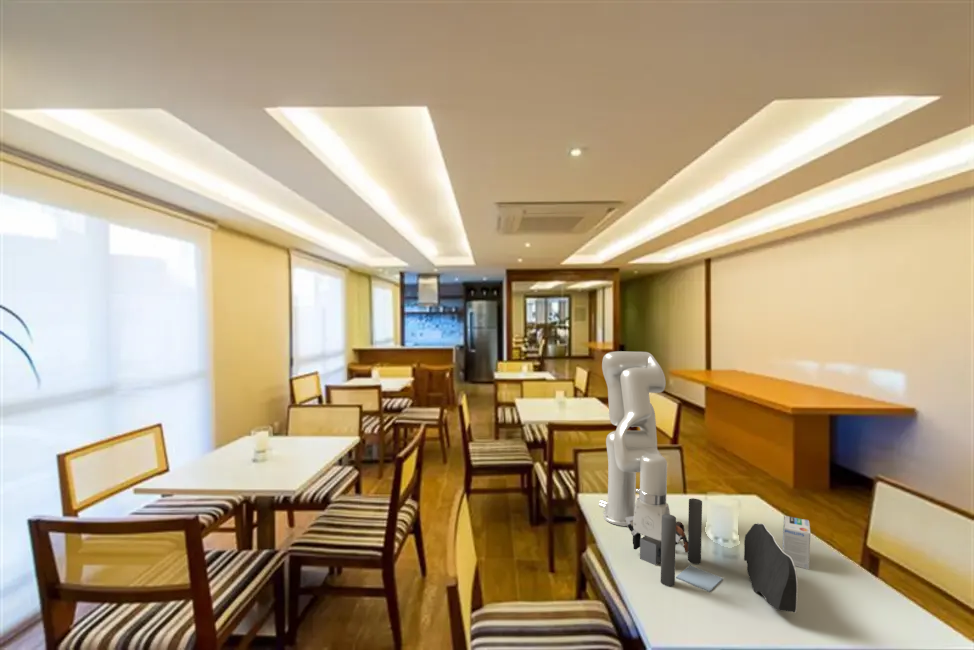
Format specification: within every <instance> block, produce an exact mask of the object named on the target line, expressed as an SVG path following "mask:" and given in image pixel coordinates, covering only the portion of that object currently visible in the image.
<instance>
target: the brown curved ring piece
mask: <svg viewBox="0 0 974 650" xmlns="http://www.w3.org/2000/svg"><path fill="white" fill-rule="evenodd" d="M676 531H677V532H678V533H679V534H680V535H681V536H682V538H681V540H680V541H682V542H683V545H682V548H683V549H684V552H685V553H688V537H687V536H686V535H687V534H686V533H685V525H684V524H683V523H682V522H681V521H676Z"/></svg>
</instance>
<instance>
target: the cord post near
mask: <svg viewBox="0 0 974 650" xmlns="http://www.w3.org/2000/svg"><path fill="white" fill-rule="evenodd" d="M676 522H677V517H676V516H675V515H672V514H670V515H669V514H663V515H662V533H661V562H660V583H661V584H662V585H663V586H665V587H674V586H675V584H676V545H677V544H676Z"/></svg>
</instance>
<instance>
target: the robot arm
mask: <svg viewBox="0 0 974 650" xmlns="http://www.w3.org/2000/svg"><path fill="white" fill-rule="evenodd" d="M601 361H602V363H601V370H602V374H603V377H604V380H605V383H606V387H607V399H608V400H607V401H608V416H609V421H610V423H611V424H612V425H613V426H616V429H615V430H613V431H611V432H609V433H608V434H607V435H606V439H605V445H606V453H607V461H608V463H607V464H608V465H607V466H608V470H607V471H608V472H607V473H608V474H607V475H608V477H607V479H608V480H607V501H606V500H604V499H600V500H599V503H598V506H599V508H603V509H604V511H603V514H602V517H603V519H604V520H605V521H606V522H607V523H610V524H613V525H616V526H621V527H627V528H628V530H629V531H630V534H631V535H632V544H633V550H635V551H636V550H638V549H640V539H641V538H642V536H647V537H650V538H652V539H655V540H658V541H661V533H662V515H663V514H669V515H671V512H670V506H669V503H667V494H668V493H667V491H668V489H667V487H668V485H667V484H668V483H667V480H668V479H667V478H668V461H667V459H666V457H664V456H663V454H661V451H659V449H658V437H657V436H658V435H657V421H656V413H655V409H654V406H653V405H652V403H651V399H650V393H651V394H653V393H655V394H656V393H658V394H659V393H662V392H664V391H665V389H666V382H667V381H666V376H665V373H664V371H663V368H662V367H661V365H660V364H659V362H658V361H657V359H656V358H655V357H654V355H653V354H651V353H650V352H648V351H627V350H626V351H622V350H620V351H619V350H618V351H609V352H607V353H606V354H604V355H603V357H602V359H601ZM630 427H631V428H634V427H637V428H639V429H640V430H630ZM628 429H629V430H628ZM637 473H639V488H638V487H637V485H636V484H637ZM636 487H637V488H636ZM636 494H638V495H639V496H638V498H637V497H636ZM681 538H682V536H681V535H680V534H679V533H678V532H677V531H676V545H678V544H679V543H680V541H682V540H681Z"/></svg>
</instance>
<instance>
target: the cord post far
mask: <svg viewBox="0 0 974 650" xmlns="http://www.w3.org/2000/svg"><path fill="white" fill-rule="evenodd" d="M702 519H703V501H702V500H701V499H699V498H693V497H692V498H691V497H690V498H689V499H688V525H687V529H688V532H687V541H688V551H687V561H688V562H689V563H691V564H693V565H700V564H701V563H702V532H703V531H702V529H703V528H702V527H703V526H702V525H703V524H702V523H703V522H702V521H703V520H702Z"/></svg>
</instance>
